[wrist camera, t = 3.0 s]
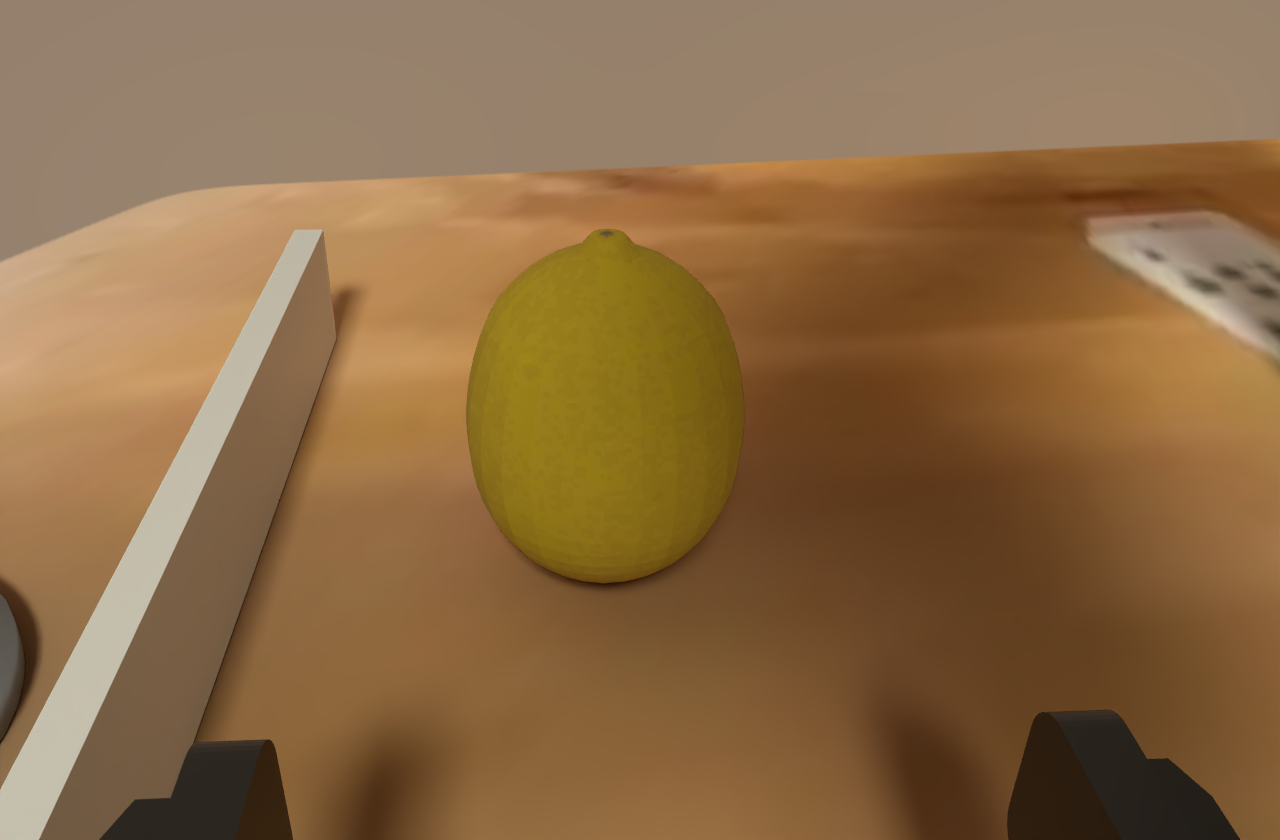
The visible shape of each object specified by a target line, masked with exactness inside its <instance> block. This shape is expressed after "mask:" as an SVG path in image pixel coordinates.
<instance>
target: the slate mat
mask: <svg viewBox="0 0 1280 840" xmlns="http://www.w3.org/2000/svg"><path fill="white" fill-rule="evenodd" d="M24 672H25V657H24V651H23V645H22V640H21V637H20V634H19V631H18V628H17V625H16V622H15V619H14V617H13V615H12V612H11V610H10V608H9V606H8V604H7V601H6V600H5V599H4V597H3V596H2V595H1V594H0V741H1V739H2V738H3V736H4V735H5V733H6V731H7V729H8V726H9V724H10V722H11V720H12V718H13V716H14V713H15V711H16V709H17V706H18V703H19V699H20V695H21V692H22V688H23V684H24Z"/></svg>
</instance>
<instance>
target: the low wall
mask: <svg viewBox="0 0 1280 840" xmlns="http://www.w3.org/2000/svg"><path fill="white" fill-rule="evenodd" d="M336 339H337V337H336V329H335V321H334V313H333V305H332V297H331V289H330V281H329V273H328V265H327V257H326V249H325V241H324V233H323V230H295V231H294V233H293V235H292V236H291V238H290V240H289V242H288V244H287V246H286V248H285V250H284V252H283V254H282V255H281V257H280V259H279V261H278V263H277V265H276V267H275V269H274V271H273V273H272V274H271V276H270V278H269V280H268V282H267V284H266V286H265V288H264V290H263V292H262V293H261V295H260V297H259V299H258V301H257V303H256V305H255V307H254V309H253V311H252V312H251V314H250V316H249V318H248V320H247V322H246V324H245V326H244V328H243V330H242V331H241V333H240V335H239V337H238V339H237V341H236V343H235V345H234V347H233V349H232V350H231V352H230V354H229V356H228V358H227V360H226V362H225V364H224V366H223V368H222V369H221V371H220V373H219V375H218V377H217V379H216V381H215V383H214V385H213V387H212V388H211V390H210V392H209V394H208V396H207V398H206V400H205V402H204V404H203V406H202V407H201V409H200V411H199V413H198V415H197V417H196V419H195V421H194V423H193V425H192V426H191V428H190V430H189V432H188V434H187V436H186V438H185V440H184V442H183V444H182V445H181V447H180V449H179V451H178V453H177V455H176V457H175V459H174V461H173V463H172V464H171V466H170V468H169V470H168V472H167V474H166V476H165V478H164V480H163V482H162V483H161V485H160V487H159V489H158V491H157V493H156V495H155V497H154V499H153V501H152V502H151V504H150V506H149V508H148V510H147V512H146V514H145V516H144V518H143V520H142V521H141V523H140V525H139V527H138V529H137V531H136V533H135V535H134V537H133V539H132V540H131V542H130V544H129V546H128V548H127V550H126V552H125V554H124V556H123V558H122V559H121V561H120V563H119V565H118V567H117V569H116V571H115V573H114V575H113V577H112V578H111V580H110V582H109V584H108V586H107V588H106V590H105V592H104V594H103V596H102V597H101V599H100V601H99V603H98V605H97V607H96V609H95V611H94V613H93V615H92V616H91V618H90V620H89V622H88V624H87V626H86V628H85V630H84V632H83V634H82V635H81V637H80V639H79V641H78V643H77V645H76V647H75V649H74V651H73V653H72V654H71V656H70V658H69V660H68V662H67V664H66V666H65V668H64V670H63V672H62V673H61V675H60V677H59V679H58V681H57V683H56V685H55V687H54V689H53V691H52V692H51V694H50V696H49V698H48V700H47V702H46V704H45V706H44V708H43V710H42V711H41V713H40V715H39V717H38V719H37V721H36V723H35V725H34V727H33V729H32V730H31V732H30V734H29V736H28V738H27V740H26V742H25V744H24V746H23V748H22V749H21V751H20V753H19V755H18V757H17V759H16V761H15V763H14V765H13V767H12V768H11V770H10V772H9V774H8V776H7V778H6V780H5V782H4V784H3V786H2V787H1V789H0V840H99V839H100V838H101V837H102V836H103V835H104V834H105V832H106V831H107V830H108V829H109V828H110V827H111V826H112V825H113V823H114V822H115V821H116V820H117V819H118V818H119V817H120V816H121V814H122V813H123V812H124V811H125V810H126V809H127V808H128V807H129V805H130V804H131V803H132V802H133V801H134V800H135V799H157V798H171V795H172V792H173V790H174V787H175V784H176V781H177V778H178V776H179V773H180V770H181V767H182V765H183V762H184V759H185V757H186V754H187V752H188V750H189V748H190V747H191V746H192V745H193V742H194V739H195V736H196V734H197V731H198V728H199V725H200V722H201V719H202V717H203V714H204V711H205V708H206V705H207V703H208V700H209V697H210V694H211V691H212V688H213V686H214V683H215V680H216V677H217V674H218V672H219V669H220V666H221V663H222V660H223V657H224V655H225V652H226V649H227V646H228V643H229V640H230V638H231V635H232V632H233V629H234V626H235V624H236V621H237V618H238V615H239V612H240V609H241V607H242V604H243V601H244V598H245V595H246V593H247V590H248V587H249V584H250V581H251V578H252V576H253V573H254V570H255V567H256V564H257V561H258V559H259V556H260V553H261V550H262V547H263V545H264V542H265V539H266V536H267V533H268V530H269V528H270V525H271V522H272V519H273V516H274V514H275V511H276V508H277V505H278V502H279V499H280V497H281V494H282V491H283V488H284V485H285V482H286V480H287V477H288V474H289V471H290V468H291V466H292V463H293V460H294V457H295V454H296V451H297V449H298V446H299V443H300V440H301V437H302V435H303V432H304V429H305V426H306V423H307V420H308V418H309V415H310V412H311V409H312V406H313V403H314V401H315V398H316V395H317V392H318V389H319V387H320V384H321V381H322V378H323V375H324V372H325V370H326V367H327V364H328V361H329V358H330V356H331V353H332V350H333V347H334V344H335V341H336Z"/></svg>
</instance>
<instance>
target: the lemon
mask: <svg viewBox="0 0 1280 840" xmlns="http://www.w3.org/2000/svg"><path fill="white" fill-rule="evenodd" d="M744 411H745V410H744V393H743V385H742V377H741V372H740V366H739V361H738V357H737V353H736V350H735V346H734V342H733V339H732V336H731V333H730V331H729V328H728V325H727V323H726V320H725V318H724V315H723V313H722V311H721V309H720V308H719V306H718V304H717V303H716V301H715V299H714V298H713V297H712V296H711V295H710V293H709V292H708V291H707V290H706V289H705V288H704V287H703V285H702V284H701V283H700V282H699V281H698V280H697V279H696V278H695V277H694V276H693V275H692V274H690V273H689V272H688V271H687V270H686V269H684V268H683V267H682V266H680V265H679V264H677V263H676V262H674V261H672V260H671V259H669V258H668V257H666V256H664V255H662V254H661V253H659V252H656V251H653V250H650V249H648V248H645V247H642V246H639V245H636V244H634V243H633V242H632V241H631V240H630V238H629V237H628V236H627V235H626V234H625V233H624V232H622V231H619V230H614V229H601V230H596V231H593V232H591V233H590V235H589V236H588V237H587V238H586V239H585V240H584V241H583V242H582V243H580V244H577V245H573V246H570V247H567V248H564V249H561V250H558V251H555V252H554V253H552V254H550V255H548V256H546V257H544V258H543V259H541V260H539V261H537V262H536V263H534V264H533V265H531V266H530V267H529V268H528V269H526V270H525V271H524V272H523V273H521V274H520V275H519V276H518V277H517V278H516V279H515V280H514V281H513V282H512V283H511V284H510V285H509V286H508V287H507V288H506V289H505V290H504V292H503V293H502V294H501V295H500V296H499V298H498V299H497V301H496V302H495V304H494V306H493V307H492V309H491V311H490V313H489V315H488V318H487V320H486V323H485V325H484V328H483V330H482V333H481V335H480V338H479V341H478V344H477V347H476V351H475V354H474V358H473V363H472V367H471V372H470V378H469V385H468V393H467V406H466V422H467V433H468V442H469V449H470V456H471V461H472V467H473V472H474V476H475V479H476V483H477V487H478V489H479V492H480V494H481V497H482V499H483V502H484V504H485V505H486V507H487V509H488V511H489V512H490V514H491V516H492V517H493V519H494V521H495V522H496V524H497V525H498V527H499V528H500V530H501V532H502V533H503V534H504V535H505V536H506V538H507V539H508V540H509V541H510V542H511V543H512V544H513V545H514V546H515V547H517V548H518V549H519V550H520V551H521V552H523V553H524V554H525V555H526V556H527V557H529V558H530V559H531V560H532V561H533V562H535V563H537V564H538V565H540V566H542V567H544V568H546V569H548V570H550V571H553V572H555V573H557V574H559V575H561V576H564V577H568V578H572V579H576V580H580V581H587V582H597V583H611V582H625V581H629V580H634V579H638V578H642V577H646V576H648V575H650V574H653V573H655V572H657V571H659V570H662V569H664V568H666V567H668V566H670V565H672V564H673V563H675V562H676V561H677V560H678V559H680V558H681V557H682V556H684V555H685V554H686V553H687V552H689V551H690V550H691V549H692V548H694V547H695V546H696V545H697V544H698V543H699V542H700V541H701V540H702V538H703V537H704V536H705V535H706V534H707V532H708V531H709V529H710V528H711V526H712V525H713V523H714V522H715V521H716V519H717V518H718V516H719V514H720V513H721V511H722V509H723V508H724V506H725V504H726V502H727V499H728V497H729V495H730V492H731V489H732V486H733V483H734V480H735V476H736V472H737V467H738V462H739V457H740V452H741V446H742V440H743V432H744Z"/></svg>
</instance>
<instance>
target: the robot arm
mask: <svg viewBox="0 0 1280 840" xmlns="http://www.w3.org/2000/svg"><path fill="white" fill-rule="evenodd" d="M1007 827H1008V839H1009V840H1240V839H1239V837H1238V835H1237V834H1236V832H1235V831H1234V829H1233V828H1232V826H1231V825H1230V823H1229V822H1228V820H1227V819H1226V817H1225V816H1224V814H1223V812H1222V811H1221V809H1220V808H1219V806H1218V805H1217V803H1216V802H1215V800H1214V799H1213V797H1212V796H1211V795H1210V794H1209V793H1207V792H1206V791H1205V790H1204V789H1203V788H1202V787H1200V786H1199V785H1198V784H1197V783H1196V782H1195V781H1194V780H1192V779H1191V778H1190V777H1189V776H1188V775H1187V774H1185V773H1184V772H1183V771H1182V770H1181V769H1180V768H1178V767H1177V766H1176V765H1175V764H1174V763H1173V762H1172V761H1170V760H1169V759H1168V758H1166V759H1147V758H1146V756H1145V755H1144V753H1143V751H1142V750H1141V748H1140V747H1139V745H1138V743H1137V742H1136V740H1135V738H1134V737H1133V735H1132V733H1131V732H1130V730H1129V729H1128V727H1127V725H1126V724H1125V722H1124V721H1123V720H1122V718H1121V717H1120V716H1119V715H1118V714H1117V713H1115V712H1114V711H1111V710H1087V711H1062V712H1042V713H1039V714H1038V715H1037V716H1036V717H1035V719H1034V721H1033V724H1032V726H1031V730H1030V733H1029V737H1028V741H1027V744H1026V748H1025V751H1024V755H1023V758H1022V762H1021V765H1020V769H1019V772H1018V776H1017V779H1016V783H1015V786H1014V790H1013V794H1012V797H1011V801H1010V804H1009V809H1008V819H1007ZM99 840H293V837H292V831H291V826H290V821H289V816H288V810H287V805H286V800H285V795H284V790H283V785H282V780H281V775H280V770H279V764H278V759H277V754H276V750H275V747H274V744H273V742H272V741H271V740H243V741H217V742H196V743H194V744H193V745H192V746H191V747H190V748H189V750H188V752H187V754H186V757H185V759H184V762H183V765H182V767H181V770H180V773H179V776H178V778H177V781H176V784H175V787H174V790H173V792H172V795H171V798H157V799H135V800H134V801H133V802H132V803H131V804H130V805H129V807H128V808H127V809H126V810H125V811H124V812H123V813H122V814H121V816H120V817H119V818H118V819H117V820H116V821H115V822H114V823H113V825H112V826H111V827H110V828H109V829H108V830H107V831H106V832H105V834H104V835H103V836H102V837H101V838H100V839H99Z"/></svg>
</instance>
